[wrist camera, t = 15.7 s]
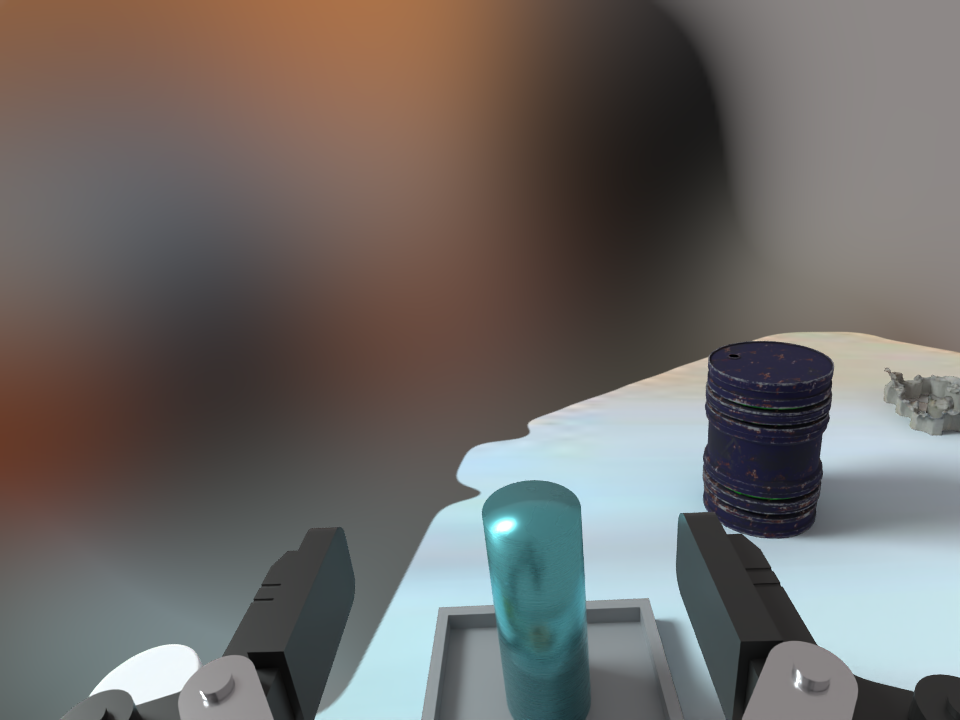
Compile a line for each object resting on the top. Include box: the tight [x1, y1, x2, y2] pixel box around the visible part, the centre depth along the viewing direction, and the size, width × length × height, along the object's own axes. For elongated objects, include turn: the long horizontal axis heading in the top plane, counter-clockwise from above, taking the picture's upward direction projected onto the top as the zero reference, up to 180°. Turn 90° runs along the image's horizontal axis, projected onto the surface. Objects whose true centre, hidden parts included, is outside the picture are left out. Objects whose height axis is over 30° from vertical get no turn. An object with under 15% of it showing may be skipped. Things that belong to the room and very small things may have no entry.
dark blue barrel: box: [703, 341, 834, 538], centre depth 51 cm, size 10×10×15 cm
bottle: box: [482, 480, 591, 720], centre depth 35 cm, size 6×6×15 cm
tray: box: [421, 598, 684, 720], centre depth 37 cm, size 16×13×2 cm
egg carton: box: [884, 368, 960, 435], centre depth 65 cm, size 11×8×4 cm
